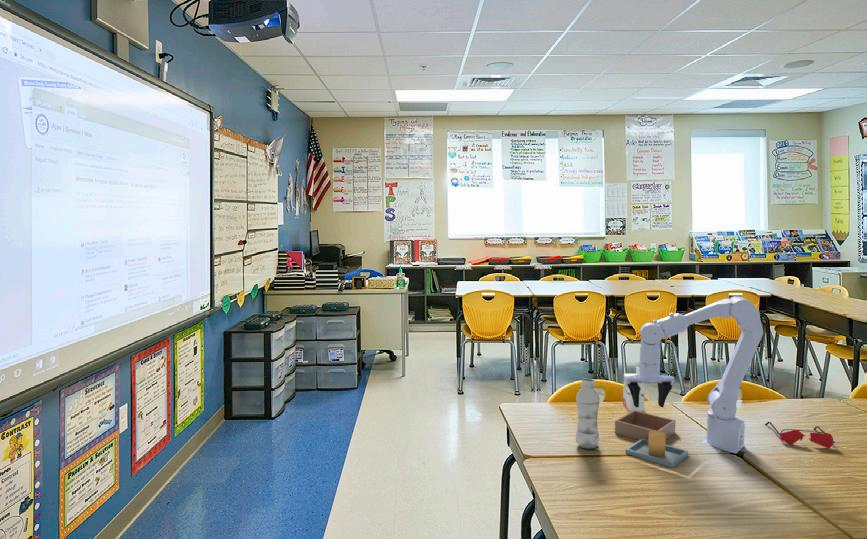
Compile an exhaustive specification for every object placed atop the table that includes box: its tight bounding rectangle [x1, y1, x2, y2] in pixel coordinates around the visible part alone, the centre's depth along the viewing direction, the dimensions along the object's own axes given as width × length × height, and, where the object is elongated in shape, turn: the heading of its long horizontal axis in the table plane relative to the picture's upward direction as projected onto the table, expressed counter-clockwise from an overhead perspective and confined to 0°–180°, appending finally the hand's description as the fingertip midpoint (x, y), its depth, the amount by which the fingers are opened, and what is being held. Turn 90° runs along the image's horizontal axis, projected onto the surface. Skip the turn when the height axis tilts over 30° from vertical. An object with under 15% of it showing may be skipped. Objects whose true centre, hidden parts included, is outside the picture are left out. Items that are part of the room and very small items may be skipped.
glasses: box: [764, 421, 836, 449], centre depth 163 cm, size 14×16×5 cm
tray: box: [625, 438, 689, 469], centre depth 149 cm, size 13×11×2 cm
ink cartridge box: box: [622, 365, 646, 412], centre depth 187 cm, size 9×5×15 cm, turn 179°
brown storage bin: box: [614, 410, 677, 441], centre depth 164 cm, size 13×13×4 cm
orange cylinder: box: [648, 430, 667, 457], centre depth 149 cm, size 4×4×6 cm
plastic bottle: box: [575, 377, 600, 450], centre depth 155 cm, size 6×7×20 cm
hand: (648, 406), depth 163 cm, fingers open, 7 cm apart
